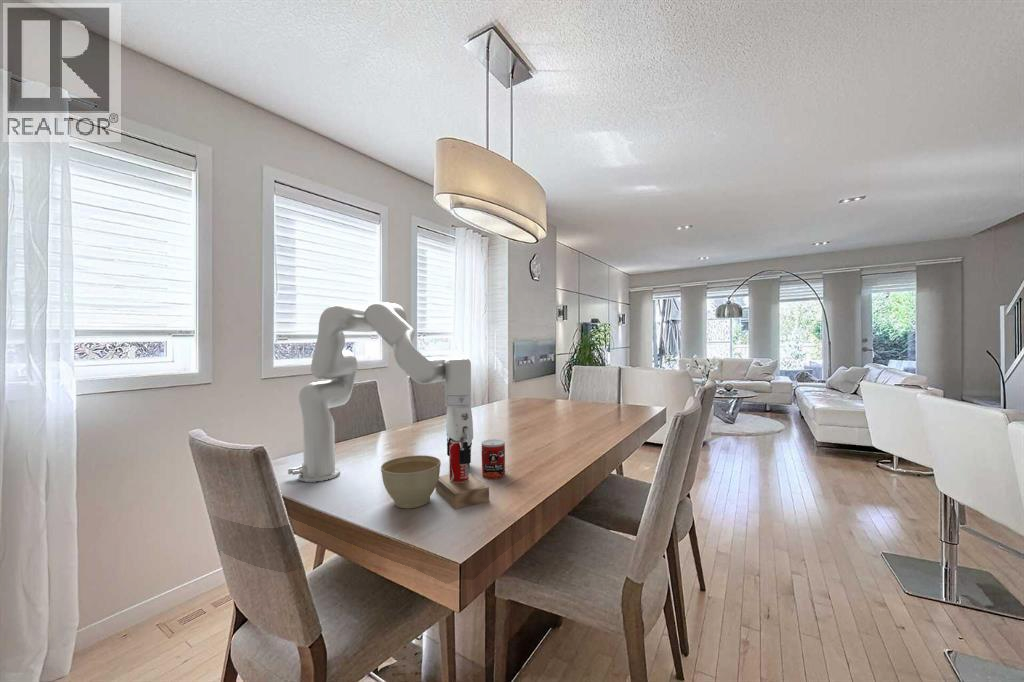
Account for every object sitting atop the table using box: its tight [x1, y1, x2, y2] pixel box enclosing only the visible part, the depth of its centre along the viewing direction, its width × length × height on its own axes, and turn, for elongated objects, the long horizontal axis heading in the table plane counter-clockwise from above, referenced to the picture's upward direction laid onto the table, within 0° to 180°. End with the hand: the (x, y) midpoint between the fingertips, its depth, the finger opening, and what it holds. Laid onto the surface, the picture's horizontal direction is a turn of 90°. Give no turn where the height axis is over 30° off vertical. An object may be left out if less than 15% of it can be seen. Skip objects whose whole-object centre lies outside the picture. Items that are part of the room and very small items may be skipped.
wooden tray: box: [435, 473, 490, 510], centre depth 119 cm, size 10×16×4 cm, turn 29°
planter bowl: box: [380, 454, 442, 509], centre depth 115 cm, size 16×16×11 cm
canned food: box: [481, 438, 506, 480], centre depth 137 cm, size 8×8×11 cm
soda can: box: [448, 438, 470, 483], centre depth 120 cm, size 6×6×12 cm
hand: (458, 459), depth 120 cm, fingers open, 9 cm apart
